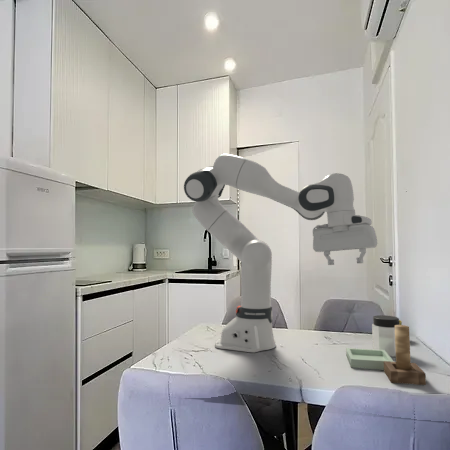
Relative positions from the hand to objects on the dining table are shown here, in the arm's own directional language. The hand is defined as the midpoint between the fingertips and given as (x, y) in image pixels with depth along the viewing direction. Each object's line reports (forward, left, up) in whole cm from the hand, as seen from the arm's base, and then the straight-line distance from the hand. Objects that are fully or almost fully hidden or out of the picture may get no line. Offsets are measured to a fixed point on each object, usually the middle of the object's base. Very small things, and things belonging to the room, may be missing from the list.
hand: (345, 264), depth 111 cm
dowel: (+13, -12, -31) cm, 35 cm away
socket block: (+13, -12, -31) cm, 35 cm away
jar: (+14, +12, -31) cm, 36 cm away
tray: (+6, 0, -31) cm, 31 cm away
